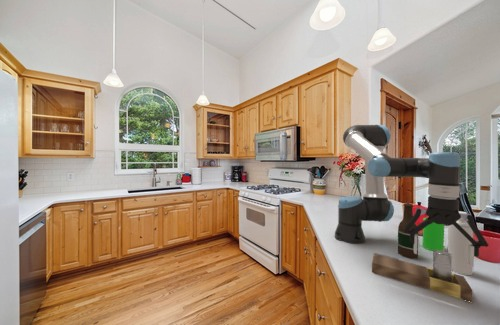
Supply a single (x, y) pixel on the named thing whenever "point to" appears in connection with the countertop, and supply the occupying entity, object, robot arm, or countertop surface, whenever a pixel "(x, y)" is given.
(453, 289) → the rail
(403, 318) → the countertop surface
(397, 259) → the mat
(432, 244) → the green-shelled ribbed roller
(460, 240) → the white bottle
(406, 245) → the beer bottle
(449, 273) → the peg
